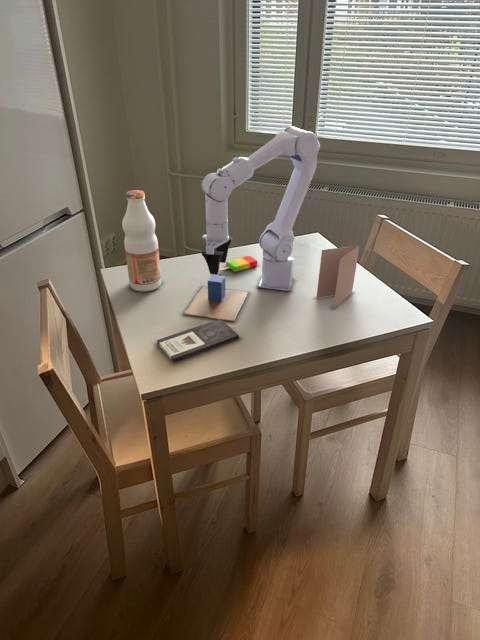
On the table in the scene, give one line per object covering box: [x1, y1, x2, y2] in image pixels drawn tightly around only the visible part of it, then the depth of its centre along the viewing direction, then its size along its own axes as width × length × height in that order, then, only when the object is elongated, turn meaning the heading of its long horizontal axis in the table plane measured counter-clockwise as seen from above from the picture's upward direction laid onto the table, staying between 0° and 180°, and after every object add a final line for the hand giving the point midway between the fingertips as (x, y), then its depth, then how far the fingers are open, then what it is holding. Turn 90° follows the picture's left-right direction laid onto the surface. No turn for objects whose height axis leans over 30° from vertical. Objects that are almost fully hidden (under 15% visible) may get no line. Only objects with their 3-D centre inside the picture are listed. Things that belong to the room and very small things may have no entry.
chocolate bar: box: [156, 319, 240, 363], centre depth 112 cm, size 9×1×18 cm
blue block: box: [207, 274, 226, 301], centre depth 129 cm, size 4×4×6 cm
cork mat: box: [183, 286, 249, 322], centre depth 128 cm, size 14×16×1 cm
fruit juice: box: [121, 189, 162, 292], centre depth 130 cm, size 9×9×28 cm
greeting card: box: [316, 244, 360, 309], centre depth 126 cm, size 11×7×15 cm, turn 107°
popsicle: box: [219, 255, 258, 273], centre depth 147 cm, size 6×15×2 cm, turn 124°
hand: (218, 267), depth 127 cm, fingers open, 7 cm apart
